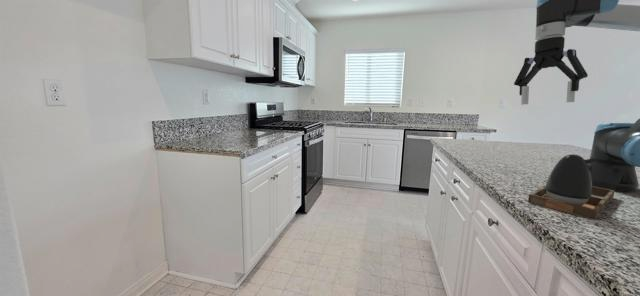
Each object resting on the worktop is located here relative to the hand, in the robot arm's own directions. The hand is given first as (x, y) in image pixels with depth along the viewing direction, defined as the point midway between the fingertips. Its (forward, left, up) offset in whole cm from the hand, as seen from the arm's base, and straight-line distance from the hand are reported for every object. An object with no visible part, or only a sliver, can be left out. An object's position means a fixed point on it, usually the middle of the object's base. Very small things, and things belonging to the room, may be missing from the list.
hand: (546, 103), depth 92 cm
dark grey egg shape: (+13, +12, -30) cm, 34 cm away
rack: (+6, +12, -30) cm, 33 cm away
